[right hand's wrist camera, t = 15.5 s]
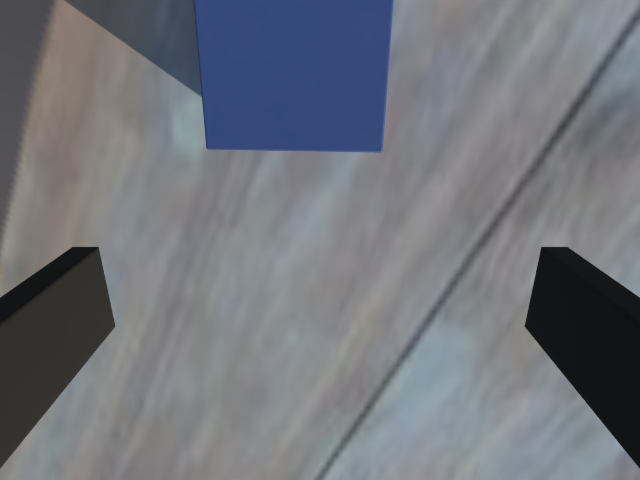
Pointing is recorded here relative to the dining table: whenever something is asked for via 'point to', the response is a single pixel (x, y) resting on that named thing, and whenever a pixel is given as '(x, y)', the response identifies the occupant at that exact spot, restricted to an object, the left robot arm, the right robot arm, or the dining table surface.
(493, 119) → the dining table surface
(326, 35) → the block
